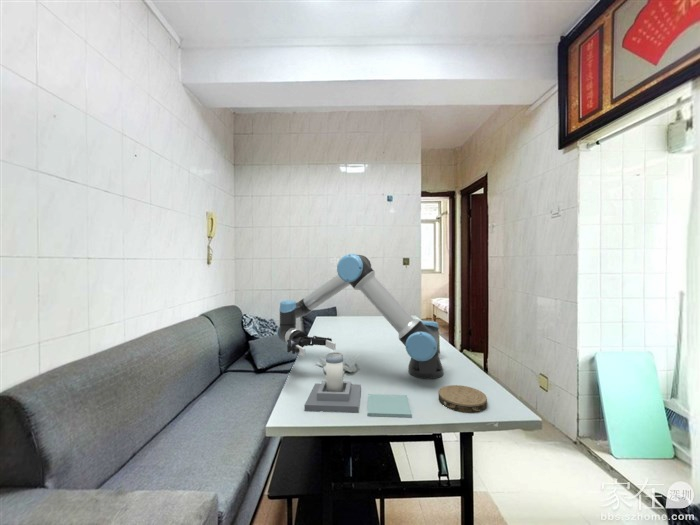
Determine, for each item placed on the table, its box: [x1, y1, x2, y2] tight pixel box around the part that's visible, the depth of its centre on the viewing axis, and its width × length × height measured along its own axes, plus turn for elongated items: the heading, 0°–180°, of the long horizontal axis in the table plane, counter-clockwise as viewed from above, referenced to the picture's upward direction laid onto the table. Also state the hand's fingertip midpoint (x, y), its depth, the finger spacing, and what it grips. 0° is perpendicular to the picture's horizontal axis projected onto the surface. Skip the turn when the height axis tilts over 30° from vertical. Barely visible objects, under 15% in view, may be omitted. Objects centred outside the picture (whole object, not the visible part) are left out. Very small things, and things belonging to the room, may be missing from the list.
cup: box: [325, 352, 344, 392], centre depth 107 cm, size 6×6×14 cm
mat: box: [367, 393, 413, 418], centre depth 102 cm, size 14×14×1 cm
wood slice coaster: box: [438, 384, 488, 414], centre depth 105 cm, size 16×16×3 cm
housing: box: [304, 380, 362, 414], centre depth 107 cm, size 18×18×4 cm
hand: (320, 349), depth 116 cm, fingers open, 13 cm apart
